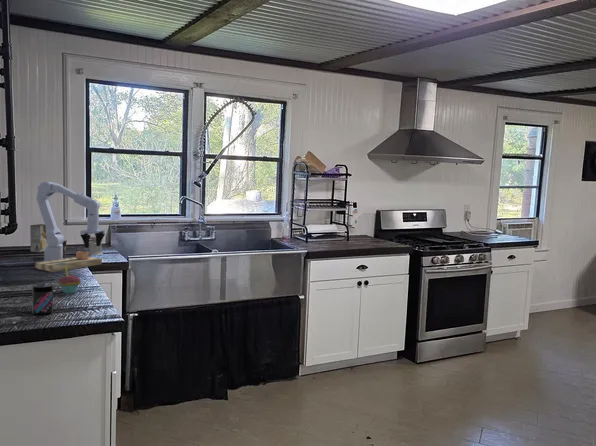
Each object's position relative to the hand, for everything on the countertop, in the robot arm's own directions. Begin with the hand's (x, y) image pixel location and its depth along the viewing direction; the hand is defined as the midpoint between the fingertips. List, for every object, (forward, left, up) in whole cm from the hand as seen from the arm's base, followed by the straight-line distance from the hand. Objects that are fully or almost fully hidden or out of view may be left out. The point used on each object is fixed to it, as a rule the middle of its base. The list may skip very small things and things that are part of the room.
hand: (92, 246), depth 283 cm
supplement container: (+64, -76, -10) cm, 100 cm away
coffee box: (-56, +8, -10) cm, 57 cm away
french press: (-26, +23, -10) cm, 36 cm away
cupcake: (+44, -49, -10) cm, 67 cm away
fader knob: (-3, -4, -6) cm, 8 cm away
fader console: (-3, -12, -10) cm, 16 cm away
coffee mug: (-29, +2, -10) cm, 30 cm away
